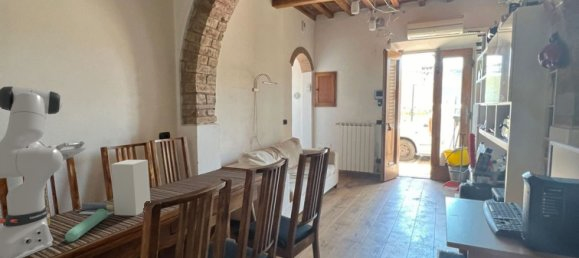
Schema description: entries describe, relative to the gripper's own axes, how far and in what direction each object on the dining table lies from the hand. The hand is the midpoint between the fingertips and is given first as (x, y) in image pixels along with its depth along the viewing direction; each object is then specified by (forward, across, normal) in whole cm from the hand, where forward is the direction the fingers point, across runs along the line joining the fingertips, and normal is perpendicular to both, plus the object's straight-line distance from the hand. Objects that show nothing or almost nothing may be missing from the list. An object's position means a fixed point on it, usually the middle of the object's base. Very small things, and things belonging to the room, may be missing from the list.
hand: (75, 143), depth 158 cm
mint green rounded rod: (+8, -20, +46) cm, 51 cm away
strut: (-4, +3, +37) cm, 37 cm away
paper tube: (-15, -20, +35) cm, 43 cm away
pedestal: (+12, +4, +46) cm, 47 cm away
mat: (-3, +3, +38) cm, 38 cm away
